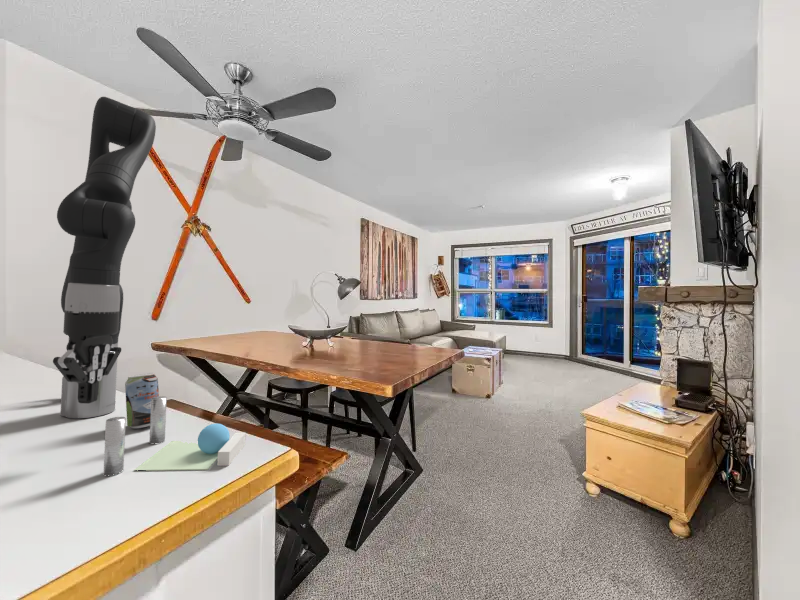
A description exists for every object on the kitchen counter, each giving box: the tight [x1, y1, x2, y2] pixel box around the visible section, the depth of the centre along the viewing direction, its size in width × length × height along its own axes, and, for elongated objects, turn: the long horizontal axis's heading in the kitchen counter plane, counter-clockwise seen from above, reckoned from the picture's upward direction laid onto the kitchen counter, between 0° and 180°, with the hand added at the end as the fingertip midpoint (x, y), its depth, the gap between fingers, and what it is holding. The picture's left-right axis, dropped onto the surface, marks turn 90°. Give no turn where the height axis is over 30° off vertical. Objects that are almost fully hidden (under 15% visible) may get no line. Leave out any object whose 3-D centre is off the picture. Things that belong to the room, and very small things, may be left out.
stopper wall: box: [217, 432, 247, 467], centre depth 66 cm, size 2×9×2 cm, turn 7°
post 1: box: [103, 416, 127, 477], centre depth 58 cm, size 3×3×9 cm
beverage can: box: [124, 372, 160, 429], centre depth 78 cm, size 6×7×12 cm
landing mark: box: [134, 440, 218, 472], centre depth 65 cm, size 12×12×1 cm
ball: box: [197, 423, 231, 454], centre depth 67 cm, size 6×6×6 cm
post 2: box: [149, 395, 168, 445], centre depth 70 cm, size 3×3×9 cm
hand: (87, 402), depth 63 cm, fingers closed
